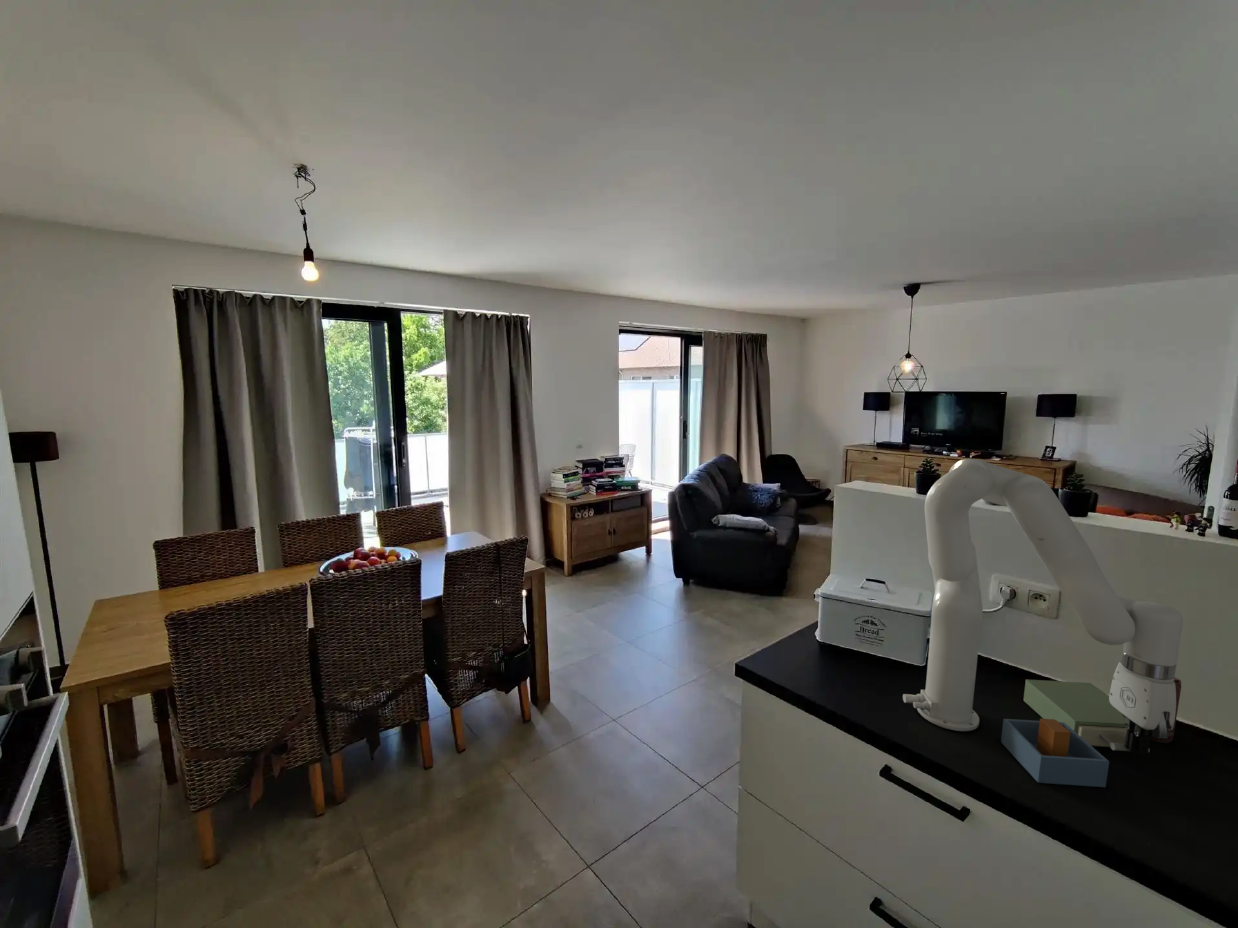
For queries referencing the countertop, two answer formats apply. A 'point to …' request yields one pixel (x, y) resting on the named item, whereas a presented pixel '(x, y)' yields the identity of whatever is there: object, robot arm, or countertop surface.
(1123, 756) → the countertop surface
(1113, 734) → the drawer
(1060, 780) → the bin
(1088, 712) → the cabinet
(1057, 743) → the orange brown brick
